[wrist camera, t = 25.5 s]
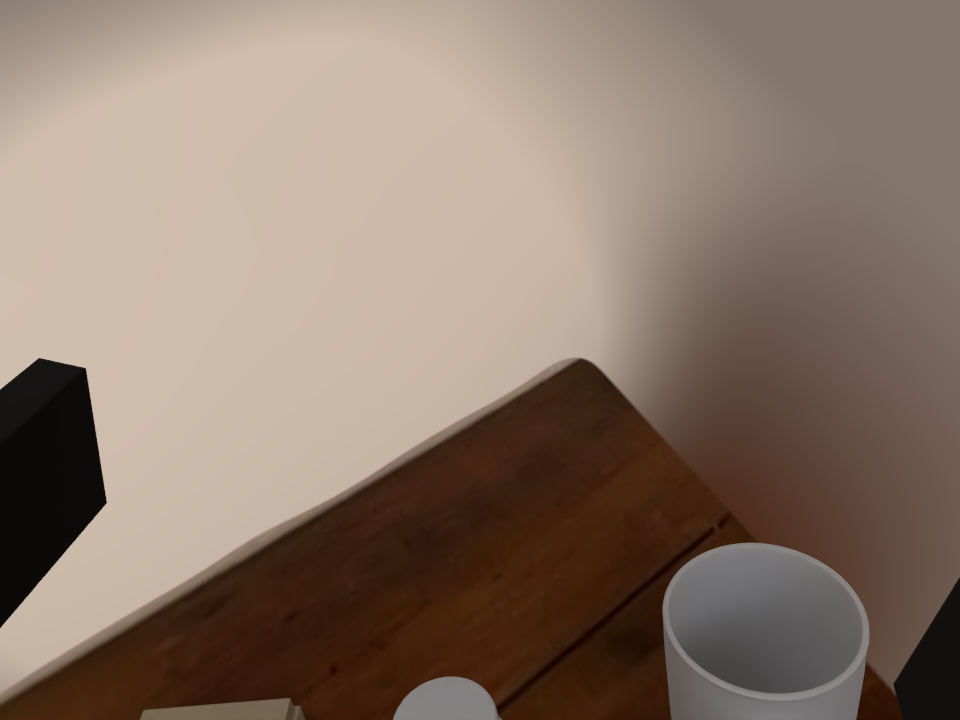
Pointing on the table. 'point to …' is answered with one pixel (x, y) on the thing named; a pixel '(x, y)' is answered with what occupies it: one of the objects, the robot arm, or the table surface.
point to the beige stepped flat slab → (230, 711)
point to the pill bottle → (447, 701)
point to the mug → (763, 637)
